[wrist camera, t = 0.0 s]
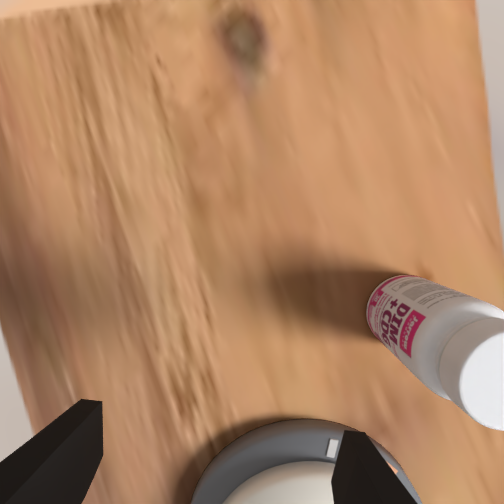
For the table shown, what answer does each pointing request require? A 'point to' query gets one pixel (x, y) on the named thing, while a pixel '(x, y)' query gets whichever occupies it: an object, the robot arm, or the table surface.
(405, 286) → the pill bottle
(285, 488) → the dial
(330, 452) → the dial base
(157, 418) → the table surface
